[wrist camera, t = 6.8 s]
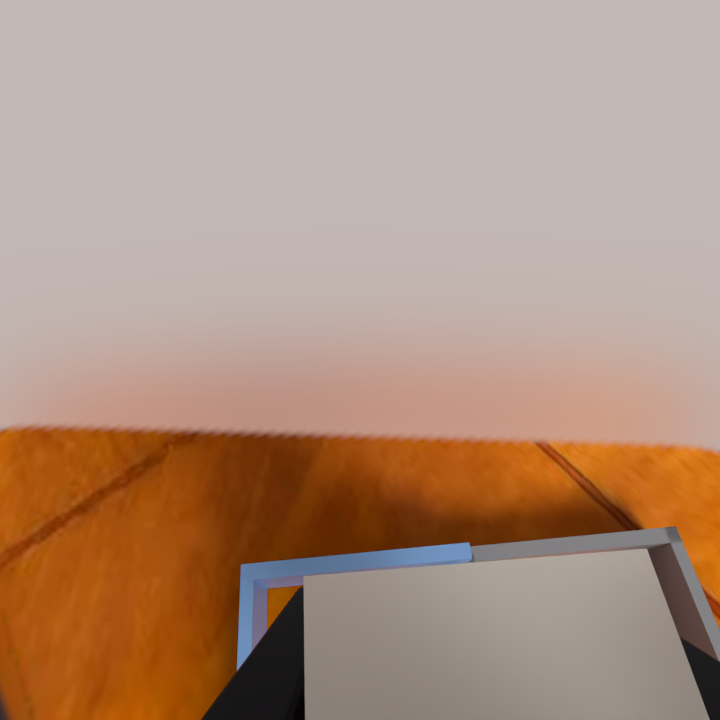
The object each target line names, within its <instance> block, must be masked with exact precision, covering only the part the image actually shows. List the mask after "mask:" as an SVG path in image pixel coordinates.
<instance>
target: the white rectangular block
mask: <svg viewBox="0 0 720 720" xmlns="http://www.w3.org/2000/svg"><path fill="white" fill-rule="evenodd" d="M303 577H304V674H305V720H710V719H709V716H708V714H707V711H706V708H705V705H704V703H703V700H702V697H701V695H700V692H699V689H698V686H697V684H696V681H695V678H694V676H693V673H692V670H691V667H690V665H689V662H688V659H687V657H686V654H685V651H684V648H683V646H682V643H681V640H680V637H679V635H678V632H677V629H676V627H675V624H674V621H673V618H672V616H671V613H670V610H669V608H668V605H667V602H666V599H665V597H664V594H663V591H662V588H661V586H660V583H659V580H658V578H657V575H656V572H655V569H654V567H653V564H652V561H651V559H650V556H649V553H648V550H647V549H635V550H622V551H610V552H597V553H585V554H573V555H560V556H548V557H535V558H523V559H511V560H498V561H486V562H473V563H461V564H449V565H436V566H424V567H411V568H399V569H387V570H374V571H362V572H349V573H337V574H325V575H312V576H303Z"/></svg>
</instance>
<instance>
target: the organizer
mask: <svg viewBox="0 0 720 720" xmlns="http://www.w3.org/2000/svg"><path fill="white" fill-rule="evenodd" d="M635 549H647V550H648V553H649V556H650V559H651V561H652V564H653V567H654V569H655V572H656V575H657V578H658V580H659V583H660V586H661V588H662V591H663V594H664V597H665V599H666V602H667V605H668V608H669V610H670V613H671V616H672V618H673V621H674V624H675V627H676V629H677V632H678V635H679V636H681V637H682V638H684V639H685V640H687V641H688V642H690V643H692V644H693V645H695V646H696V647H698V648H699V649H701V650H703V651H704V652H706V653H707V654H709V655H710V656H712V657H714V658H715V659H717V660H718V661H720V630H719V628H718V625H717V623H716V621H715V618H714V616H713V613H712V611H711V609H710V606H709V604H708V602H707V599H706V597H705V594H704V592H703V590H702V587H701V585H700V583H699V580H698V578H697V576H696V573H695V571H694V568H693V566H692V564H691V561H690V559H689V557H688V554H687V552H686V549H685V547H684V545H683V542H682V540H681V538H680V535H679V533H678V530H677V528H676V527H665V528H655V529H645V530H634V531H624V532H614V533H604V534H593V535H583V536H573V537H562V538H552V539H542V540H531V541H521V542H511V543H500V544H490V545H480V546H470V544H469V542H467V543H456V544H446V545H436V546H425V547H415V548H405V549H394V550H384V551H374V552H363V553H353V554H343V555H332V556H322V557H312V558H301V559H291V560H281V561H270V562H260V563H250V564H241V576H240V602H239V628H238V653H237V670H238V669H239V668H240V666H241V665H242V664H243V662H244V661H245V660H246V658H247V657H248V656H249V654H250V653H251V652H252V650H253V649H254V648H255V646H256V645H257V644H258V642H259V641H260V640H261V638H262V637H263V635H264V634H265V633H266V631H267V589H268V588H279V587H289V586H299V585H304V577H303V576H312V575H325V574H337V573H349V572H362V571H374V570H387V569H399V568H411V567H424V566H436V565H449V564H461V563H473V562H486V561H498V560H511V559H523V558H535V557H548V556H560V555H573V554H585V553H597V552H610V551H622V550H635Z"/></svg>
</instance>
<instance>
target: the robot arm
mask: <svg viewBox="0 0 720 720" xmlns="http://www.w3.org/2000/svg"><path fill="white" fill-rule="evenodd" d="M679 637H680V640H681V643H682V646H683V648H684V651H685V654H686V657H687V659H688V662H689V665H690V667H691V670H692V673H693V676H694V678H695V681H696V684H697V686H698V689H699V692H700V695H701V697H702V700H703V703H704V705H705V708H706V711H707V714H708V716H709V719H710V720H720V661H718V660H717V659H715V658H714V657H712V656H710V655H709V654H707V653H706V652H704V651H703V650H701V649H699V648H698V647H696V646H695V645H693V644H692V643H690V642H688V641H687V640H685V639H684V638H682V637H681V636H679ZM201 720H305V674H304V587H300V588H299V589H298V590H297V591H296V593H295V594H294V595H293V597H292V598H291V599H290V601H289V602H288V603H287V605H286V606H285V607H284V609H283V610H282V611H281V613H280V614H279V615H278V617H277V618H276V619H275V621H274V622H273V623H272V625H271V626H270V627H269V629H268V630H267V631H266V633H265V634H264V635H263V637H262V638H261V640H260V641H259V642H258V644H257V645H256V646H255V648H254V649H253V650H252V652H251V653H250V654H249V656H248V657H247V658H246V660H245V661H244V662H243V664H242V665H241V666H240V668H239V669H238V670H237V672H236V673H235V674H234V676H233V677H232V678H231V680H230V681H229V682H228V684H227V685H226V687H225V688H224V689H223V691H222V692H221V693H220V695H219V696H218V697H217V699H216V700H215V701H214V703H213V704H212V705H211V707H210V708H209V709H208V711H207V712H206V713H205V715H204V716H203V717H202V719H201Z"/></svg>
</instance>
